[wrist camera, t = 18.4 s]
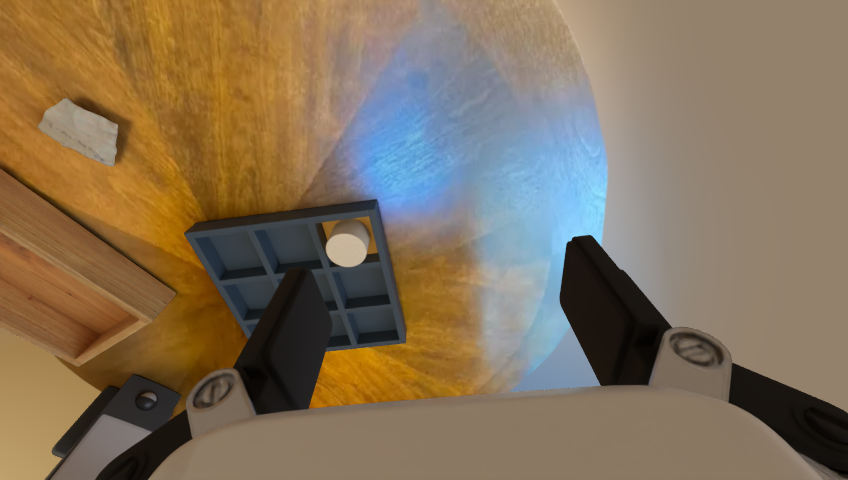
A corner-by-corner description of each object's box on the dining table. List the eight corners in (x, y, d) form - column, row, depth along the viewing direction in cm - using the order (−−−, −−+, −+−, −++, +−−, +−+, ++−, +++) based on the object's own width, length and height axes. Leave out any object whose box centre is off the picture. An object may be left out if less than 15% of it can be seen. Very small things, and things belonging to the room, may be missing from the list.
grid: (376, 199, 36) (374, 209, 34) (406, 330, 47) (405, 343, 45) (195, 222, 37) (183, 233, 35) (266, 345, 48) (260, 358, 46)
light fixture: (222, 372, 52) (95, 594, 31) (170, 414, 57) (33, 626, 37) (154, 338, 47) (-48, 571, 26) (105, 388, 53) (-93, 611, 32)
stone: (118, 169, 34) (140, 126, 32) (100, 177, 32) (122, 133, 30) (47, 125, 31) (65, 75, 29) (23, 132, 29) (41, 79, 27)
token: (365, 216, 37) (361, 231, 34) (373, 248, 39) (370, 264, 36) (327, 220, 37) (320, 236, 34) (338, 252, 39) (332, 269, 36)
